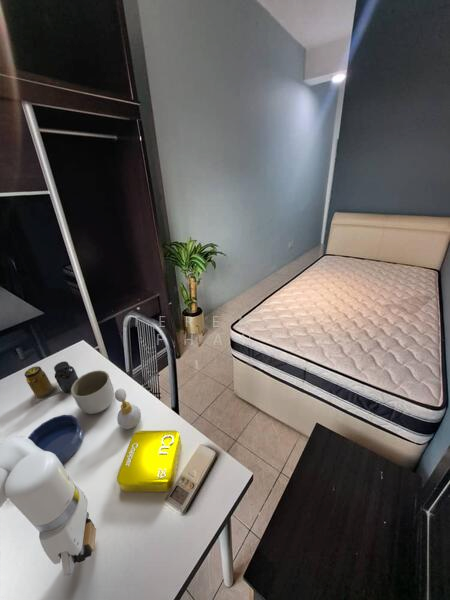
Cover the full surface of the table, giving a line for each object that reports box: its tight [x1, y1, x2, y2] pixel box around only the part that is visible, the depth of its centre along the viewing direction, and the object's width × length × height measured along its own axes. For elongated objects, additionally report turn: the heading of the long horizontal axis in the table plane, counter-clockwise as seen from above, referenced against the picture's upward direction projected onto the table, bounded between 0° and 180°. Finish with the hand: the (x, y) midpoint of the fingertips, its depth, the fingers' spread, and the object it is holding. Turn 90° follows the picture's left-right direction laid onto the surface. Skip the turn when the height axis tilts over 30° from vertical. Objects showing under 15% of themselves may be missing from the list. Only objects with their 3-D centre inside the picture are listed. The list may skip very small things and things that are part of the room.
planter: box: [70, 370, 115, 415], centre depth 90 cm, size 12×12×11 cm
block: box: [83, 521, 97, 553], centre depth 55 cm, size 4×4×4 cm
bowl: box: [27, 414, 85, 465], centre depth 78 cm, size 15×15×5 cm
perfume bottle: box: [114, 388, 142, 430], centre depth 83 cm, size 8×10×12 cm
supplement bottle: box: [53, 361, 79, 394], centre depth 98 cm, size 7×7×12 cm
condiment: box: [24, 365, 61, 403], centre depth 97 cm, size 7×8×12 cm
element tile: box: [116, 430, 182, 493], centre depth 72 cm, size 15×15×5 cm
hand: (85, 542), depth 56 cm, fingers closed on block, 4 cm apart
